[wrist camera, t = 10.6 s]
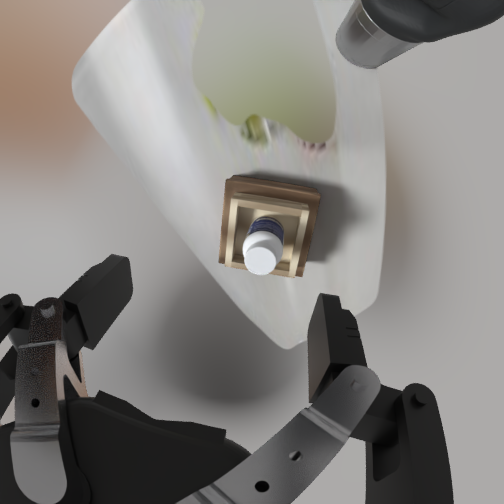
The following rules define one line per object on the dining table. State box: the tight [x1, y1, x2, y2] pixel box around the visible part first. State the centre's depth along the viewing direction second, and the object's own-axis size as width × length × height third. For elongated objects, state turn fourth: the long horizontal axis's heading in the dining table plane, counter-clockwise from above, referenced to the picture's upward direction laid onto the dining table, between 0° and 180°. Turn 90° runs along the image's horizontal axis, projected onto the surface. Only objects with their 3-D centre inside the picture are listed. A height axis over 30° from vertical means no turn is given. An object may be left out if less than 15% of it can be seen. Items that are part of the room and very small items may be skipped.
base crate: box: [219, 175, 321, 277], centre depth 45 cm, size 14×14×5 cm
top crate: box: [225, 192, 309, 278], centre depth 41 cm, size 11×11×4 cm
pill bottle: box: [243, 216, 284, 275], centre depth 38 cm, size 5×5×10 cm
